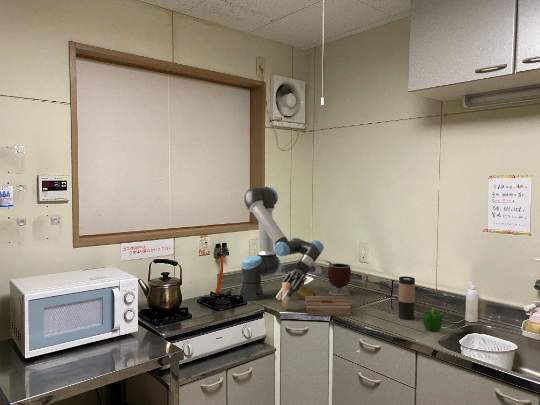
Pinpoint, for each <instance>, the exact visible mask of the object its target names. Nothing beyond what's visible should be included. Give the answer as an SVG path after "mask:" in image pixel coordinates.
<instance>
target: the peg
mask: <svg viewBox="0 0 540 405" xmlns="http://www.w3.org/2000/svg"><path fill="white" fill-rule="evenodd" d="M281 283H282V282H281ZM281 288H282V297H283V296H284V295H285V293H286V292H287V290H288V289H289V288H291V284H290V283H289V282H283V283H282V286H281ZM289 290H290V289H289ZM282 297H281V298H282ZM290 297H291V296H290ZM290 297H288V299H287V300H286V302H283V301H282V300H281V306H282V307H284V308H287V307H290V305H291V304H290V299H291V298H290Z"/></svg>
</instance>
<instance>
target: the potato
mask: <svg viewBox="0 0 540 405" xmlns="http://www.w3.org/2000/svg"><path fill="white" fill-rule="evenodd" d="M294 294H295V295H296V296H297V297H299V298H300V299H301V300H304V301H305V296H317V294H316V292H315V291H313V290H312V289H310V288H309V287H307V286H306V285H305V284H302V285H301V286H300V288H299V289H298V291H297V292H294Z"/></svg>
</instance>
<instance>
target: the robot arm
mask: <svg viewBox="0 0 540 405" xmlns="http://www.w3.org/2000/svg"><path fill="white" fill-rule="evenodd" d="M243 198H244V205H245V207H246V208H247V210H248V211H249V212H250V213H253V215H254V217H255V218H256V219H257V221H258V242H259V244H258V246H259V251H258V252H257V254H256V255H250V256H246V257H244V258H243V259H242V261H241V285H240V288H239V291H238V296H239V295H242V296H243V299H242V300H244V301H257V300H261V299H264V298H265V291H264V286H263V285H262V278H265V277H268V276H273V275H275V274H277V273H278V272H279V271H280V269H281V260H280V258H279V257H286V256H288V255H289V256H291V255H296V254H301V255H302V256H301V257H300V259H299V260H298V262H297V263H296V264H295V266H294V270H292V271H290V270H288V271H287V274H286V276H285V277H284V279H283V280H282V281H281V283H280V286H281V288H280V289H279V291H278V293H277V295H276V296H275V298H276V299H277V300H278V301H281V302H282V301H283V302H286V300H287V299H288V297H291V295H292V294H293V293H295V292H297V291H298V289H299V288H300V286H301V285H304V282H305V281H306V280H308V277H307V276H306V275H307V274H308V273H309V271H311V270H310V269H311V268H312V267H313V266H314V264H315V262H316V261H317V259H318V258H319V257H320V255H321V254H322V252H323V250H324V248H325V247H324V244H323V243H322V242H321V241H319V240H317V239H313V240H312V241H311V242H309V241H306V240H303V239H301V238H299V237H292V238H290V240H289V239H288V238H287V237H286V235H285V234H284V233H283V232H284V231H282V230H281V228H280V226H279V225H278V224H277V222H276V221H275V220H274V218H273V211H274V210H275V205H277V202H278V200H279V195H278V193H277V191H276V190H275V189H274V188H273V187H269V186H252V187H249V188H248V189H247V190H246V191H245V193H244V196H243ZM283 282H289V283H290V288H289V289H290V290H289V289H288V290H287V292H286V293H285V295H284V296H283V297H282V283H283Z"/></svg>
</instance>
